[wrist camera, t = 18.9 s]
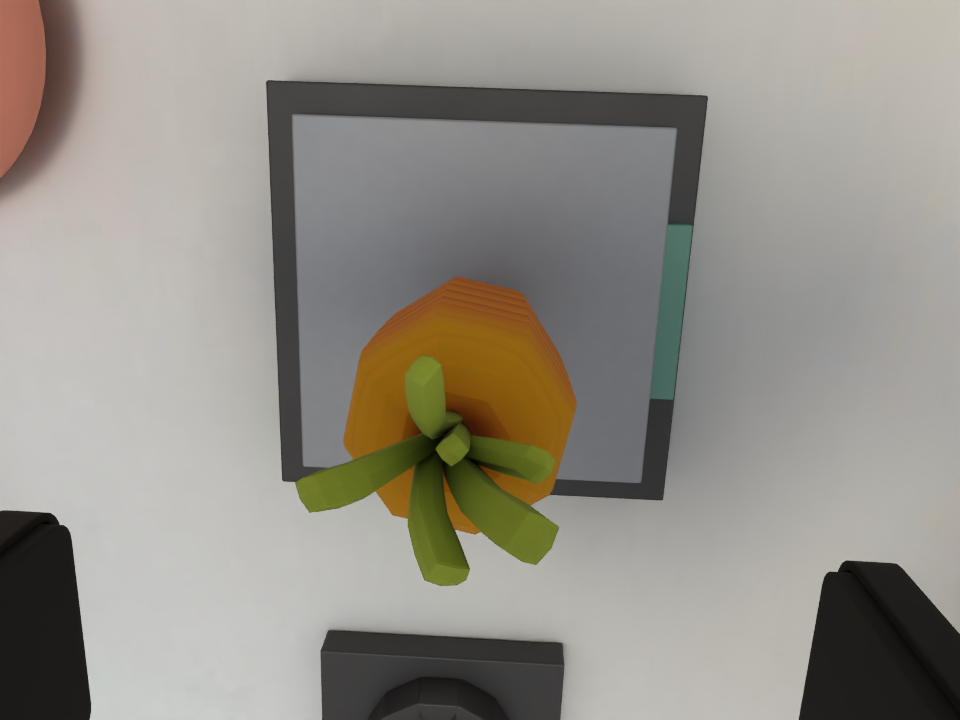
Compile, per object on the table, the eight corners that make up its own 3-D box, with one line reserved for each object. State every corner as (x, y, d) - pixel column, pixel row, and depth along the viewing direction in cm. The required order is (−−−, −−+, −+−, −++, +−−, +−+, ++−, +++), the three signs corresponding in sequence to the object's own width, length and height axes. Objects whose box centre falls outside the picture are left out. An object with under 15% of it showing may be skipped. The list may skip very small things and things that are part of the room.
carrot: (375, 328, 26) (210, 567, 12) (461, 206, 25) (392, 310, 11) (495, 411, 27) (474, 732, 13) (584, 297, 26) (674, 509, 11)
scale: (691, 98, 27) (714, 94, 24) (652, 473, 31) (667, 511, 28) (286, 84, 27) (257, 78, 24) (298, 456, 31) (275, 491, 28)
